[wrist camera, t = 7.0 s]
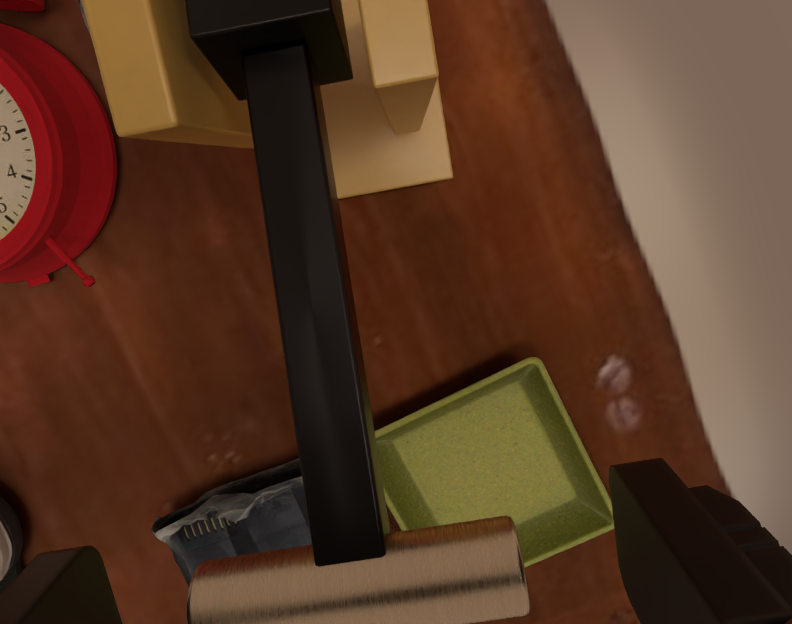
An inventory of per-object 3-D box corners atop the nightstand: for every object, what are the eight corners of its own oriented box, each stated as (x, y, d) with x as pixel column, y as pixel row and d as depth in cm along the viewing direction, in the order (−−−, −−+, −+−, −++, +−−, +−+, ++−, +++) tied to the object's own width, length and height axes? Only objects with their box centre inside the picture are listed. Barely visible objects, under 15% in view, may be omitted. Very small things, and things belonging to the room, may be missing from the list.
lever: (520, 585, 11) (540, 643, 9) (233, 627, 12) (178, 694, 9) (404, -76, 12) (394, -181, 10) (147, -24, 13) (78, -114, 10)
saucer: (440, 577, 32) (442, 605, 30) (354, 424, 30) (350, 443, 28) (609, 501, 31) (623, 525, 29) (529, 339, 29) (538, 352, 27)
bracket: (451, 177, 28) (525, 203, 10) (287, 207, 28) (88, 280, 11) (417, -43, 26) (435, -468, 8) (242, -8, 26) (-87, -345, 9)
